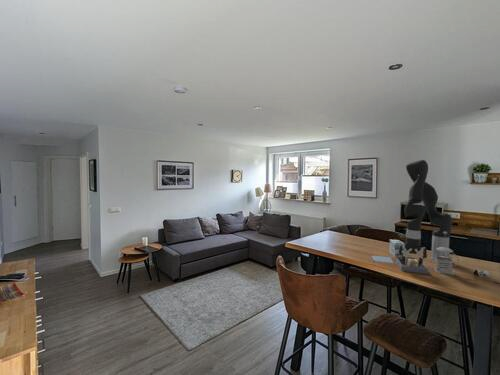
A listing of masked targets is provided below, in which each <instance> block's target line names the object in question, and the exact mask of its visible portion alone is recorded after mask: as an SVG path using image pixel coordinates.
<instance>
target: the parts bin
mask: <svg viewBox="0 0 500 375" xmlns="http://www.w3.org/2000/svg"><path fill="white" fill-rule="evenodd" d="M416 260H417V261H418V267H412V266H406V265H405V262H403V261H402V257H395V263H396V265H397V266H398V267H399V269H400V271H403V272H409V273H418V274H424V275H426V274H427V275H429V268H428V267H427V266H426V265H425V264H424V263H422V264H421V265H420V264H419V259H416Z"/></svg>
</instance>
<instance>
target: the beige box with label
mask: <svg viewBox="0 0 500 375" xmlns="http://www.w3.org/2000/svg"><path fill="white" fill-rule="evenodd" d="M417 260H418V259H416V258H415V259H409V258H408V263H407V266H412V267H418V261H417Z"/></svg>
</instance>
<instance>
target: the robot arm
mask: <svg viewBox="0 0 500 375" xmlns="http://www.w3.org/2000/svg"><path fill="white" fill-rule="evenodd" d="M405 168H406V172H407V174H408V176H409V177H410V180H412V182H413V184H412V185H411V186H410V187H409V194H408V201H407V202H406V205H405V206H404V208H403V210H404V211H403V212H404V215H406V216H408V217H416V218H415V219H408V220H407V221H406V222H407V223H406V231H405V246H403V245H399V252H398V253H399V255H402V257H401V258H402V261H403V262H405V255H408V254H413V255H416V254H417V255H418V260H419V264H420V265H421V264H422V263H423V261H424V259H427V248H426V247H425V246H423V247H421V239H422V234H421V232H422V231H421V230H422V229H421V227H422V222H423V218H424V217H425V213H427V215H428V219H429V221H430V223H431V224H432V225H433V226H437V227H439V229H438V230H437V229H436V230H433V231H432V236H431V237H432V238H431V255H430V258H431V261H435V262H436V257H437V255H444V252H441V251H438V250H436V248H439V247H444V246H445V247H446V248H449V247H450V235H451V232H452V223H453V218H452V216H451V215H450V214H448V213H444V212H439V211H438V210H437V207H436V206H437V203H438V199H439V196H438V193H437V191H436V189H435V187H433V186H432V185H431V184H430V183H428V182H427V176H428V173H429V165H428V162H427V161H426V160H425V159H420V160H416V161H411V162H408V163H406V165H405ZM422 202H423V205H422V204H421V203H422ZM443 232H447V234H446V235H445V234H444V233H443ZM403 248H405V251H404V252H403V253H402V249H403ZM449 249H450V248H449ZM420 251H422V254H421V252H420ZM445 256H450V257H451V253H446V252H445ZM443 260H446V259H443ZM446 261H448V260H446ZM423 264H424V263H423Z"/></svg>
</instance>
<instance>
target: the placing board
mask: <svg viewBox="0 0 500 375" xmlns="http://www.w3.org/2000/svg"><path fill="white" fill-rule="evenodd" d="M371 258H372V261H373V262H382V263H390V264H394V261H393V260H392V258H391V256H390V257H388V256H380V255H371Z"/></svg>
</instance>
